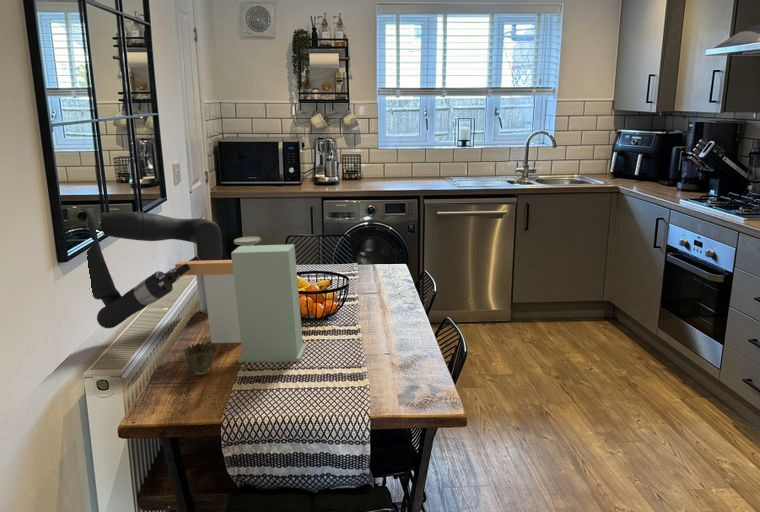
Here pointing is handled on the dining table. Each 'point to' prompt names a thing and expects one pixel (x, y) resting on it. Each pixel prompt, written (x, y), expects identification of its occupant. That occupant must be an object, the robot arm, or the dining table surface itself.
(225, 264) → the bar
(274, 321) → the stand
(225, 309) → the post
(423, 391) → the dining table surface
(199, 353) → the cup
